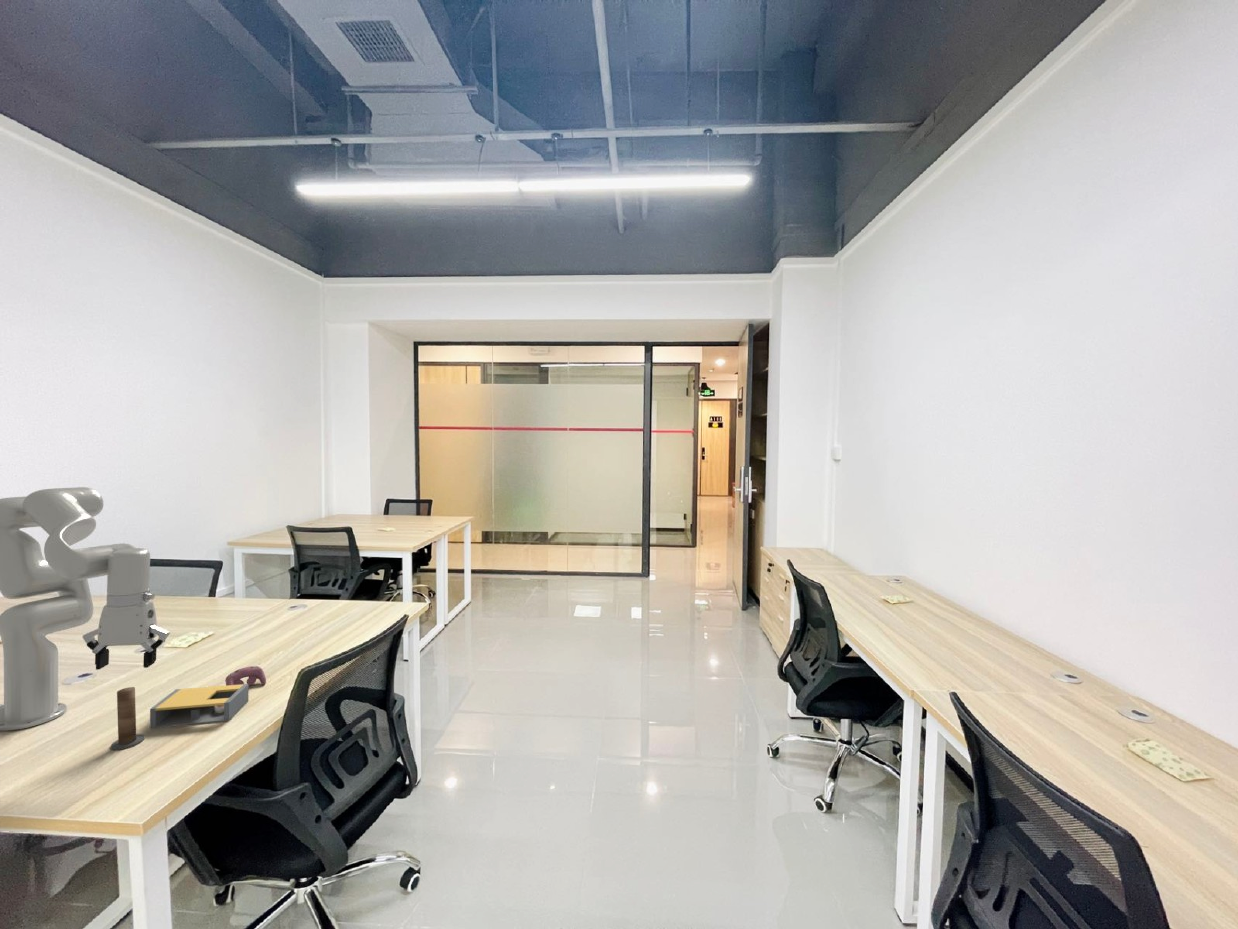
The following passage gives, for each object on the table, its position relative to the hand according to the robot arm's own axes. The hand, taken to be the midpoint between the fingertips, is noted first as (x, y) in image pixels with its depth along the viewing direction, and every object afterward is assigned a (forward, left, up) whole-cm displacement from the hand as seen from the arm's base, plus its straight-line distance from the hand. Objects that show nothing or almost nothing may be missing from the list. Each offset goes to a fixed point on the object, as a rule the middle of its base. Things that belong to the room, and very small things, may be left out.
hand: (125, 666), depth 125 cm
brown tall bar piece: (+1, -1, -19) cm, 19 cm away
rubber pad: (+1, 0, -19) cm, 19 cm away
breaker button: (+16, +12, -19) cm, 27 cm away
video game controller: (+15, +27, -20) cm, 37 cm away
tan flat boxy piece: (+11, +12, -19) cm, 25 cm away
